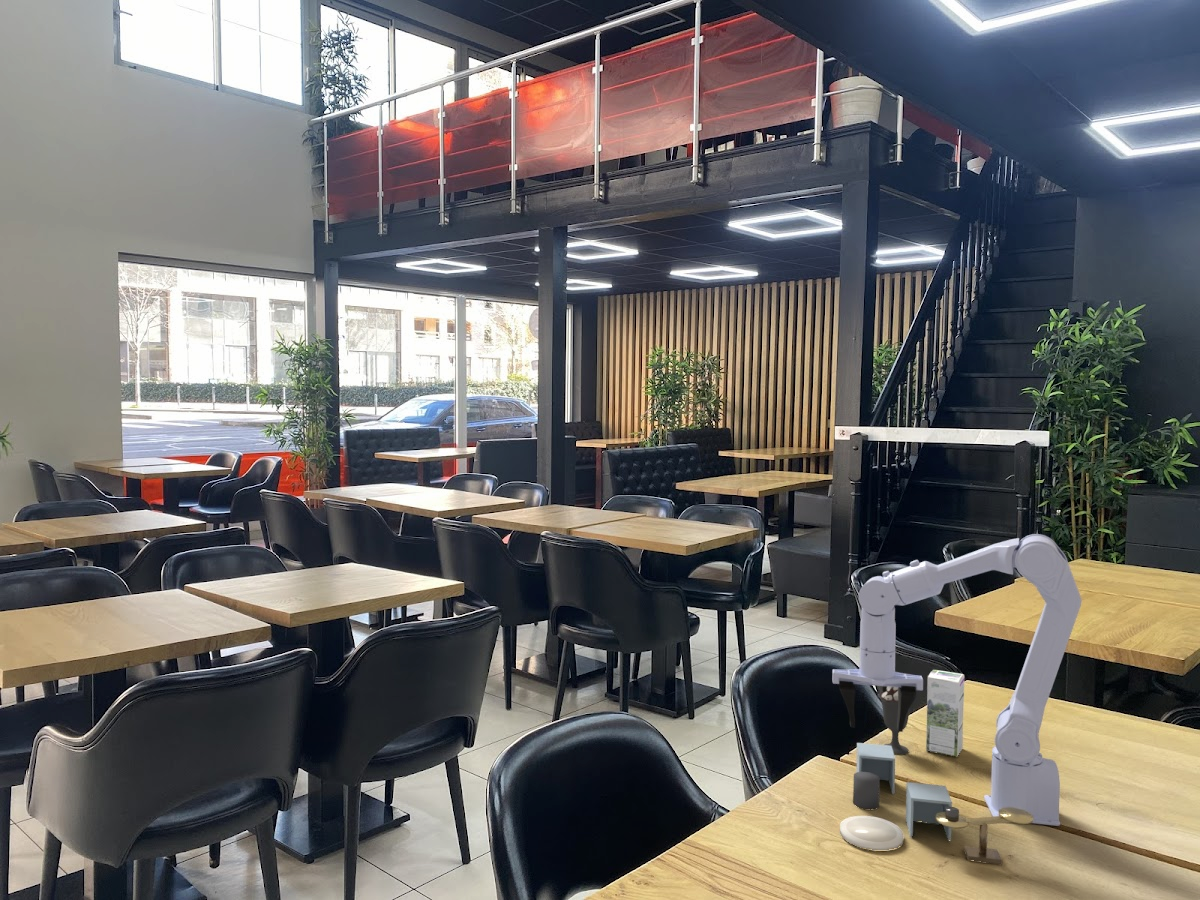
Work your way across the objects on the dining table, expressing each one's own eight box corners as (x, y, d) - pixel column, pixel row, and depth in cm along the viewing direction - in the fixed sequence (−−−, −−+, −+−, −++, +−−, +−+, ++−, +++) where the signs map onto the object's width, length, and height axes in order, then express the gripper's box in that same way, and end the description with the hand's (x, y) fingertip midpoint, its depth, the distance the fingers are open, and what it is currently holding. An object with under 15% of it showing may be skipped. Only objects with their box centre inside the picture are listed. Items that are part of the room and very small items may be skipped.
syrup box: (963, 748, 162) (965, 672, 161) (957, 758, 157) (959, 681, 156) (931, 742, 165) (933, 667, 164) (925, 752, 160) (926, 675, 159)
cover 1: (890, 779, 147) (891, 745, 147) (894, 794, 142) (895, 758, 142) (856, 776, 149) (857, 742, 148) (858, 790, 143) (859, 755, 143)
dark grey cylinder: (877, 800, 140) (878, 773, 139) (879, 811, 136) (880, 783, 136) (852, 797, 141) (853, 770, 140) (853, 808, 137) (854, 780, 137)
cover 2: (944, 824, 132) (945, 785, 131) (950, 841, 126) (951, 802, 126) (905, 819, 133) (906, 781, 133) (910, 837, 127) (911, 797, 127)
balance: (1027, 855, 122) (1028, 809, 122) (1035, 871, 118) (1037, 823, 118) (932, 844, 125) (933, 799, 125) (937, 859, 121) (938, 812, 121)
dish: (899, 825, 131) (899, 819, 131) (906, 855, 122) (906, 847, 122) (838, 819, 133) (838, 812, 133) (841, 847, 124) (841, 840, 124)
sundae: (916, 758, 157) (918, 677, 156) (878, 754, 158) (880, 675, 158) (911, 744, 163) (913, 667, 163) (874, 741, 165) (876, 664, 164)
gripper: (833, 651, 142) (832, 731, 143) (926, 658, 139) (924, 740, 139) (832, 640, 149) (831, 717, 150) (920, 646, 146) (918, 725, 146)
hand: (875, 727), depth 145 cm, fingers open, 7 cm apart
